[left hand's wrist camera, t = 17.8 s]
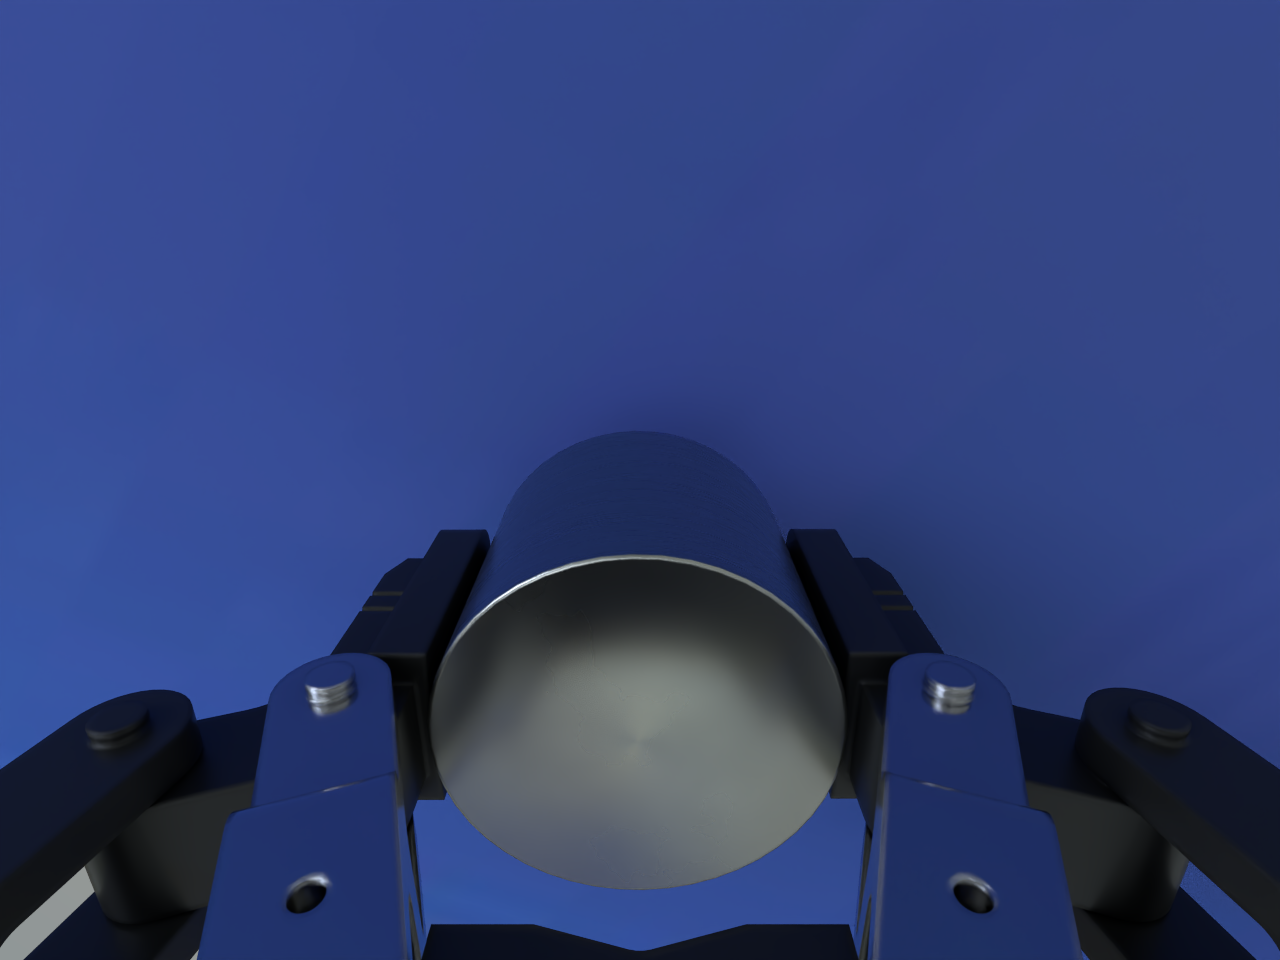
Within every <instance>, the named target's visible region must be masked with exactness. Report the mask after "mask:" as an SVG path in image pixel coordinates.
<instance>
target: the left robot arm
mask: <svg viewBox="0 0 1280 960" xmlns="http://www.w3.org/2000/svg"><path fill="white" fill-rule="evenodd" d="M786 546H787V548H788V551H789V553H790V556H791V558H792V560H793V563H794V565H795V568H796V570H797V572H798V575H799V577H800V580H801V582H802V584H803V587H804V589H805V592H806V594H807V596H808V599H809V601H810V603H811V606H812V608H813V611H814V613H815V615H816V618H817V620H818V623H819V625H820V627H821V630H822V632H823V635H824V637H825V639H826V642H827V644H828V647H829V649H830V651H831V654H832V656H833V659H834V661H835V663H836V666H837V668H838V671H839V674H840V678H841V681H842V684H843V687H844V690H845V697H846V704H847V711H848V721H847V738H846V743H845V749H844V754H843V759H842V762H841V764H840V767H839V770H838V773H837V776H836V778H835V780H834V782H833V784H832V786H831V788H830V790H829V794H830V797H831V798H857V799H858V802H859V805H860V808H861V810H862V813H863V816H864V819H865V821H866V823H865V830H864V836H863V845H862V855H861V866H860V876H859V886H858V897H857V907H856V918H855V928H854V938H853V937H852V934H851V930H850V927H849V924H746V925H742V926H738V927H735V928H731V929H727V930H723V931H719V932H716V933H712V934H708V935H704V936H701V937H697V938H693V939H689V940H686V941H682V942H678V943H674V944H670V945H667V946H663V947H659V948H655V949H652V950H646V951H634V950H628V949H625V948H621V947H617V946H613V945H610V944H606V943H602V942H598V941H594V940H591V939H587V938H583V937H579V936H576V935H572V934H568V933H564V932H561V931H557V930H553V929H549V928H545V927H542V926H538V925H534V924H431V927H430V930H429V934H428V937H427V938H426V928H425V918H424V907H423V897H422V886H421V876H420V866H419V855H418V845H417V836H416V830H415V823H414V817H413V811H414V808H415V806H416V803H417V800H444V799H445V796H446V793H447V791H446V789H445V787H444V785H443V783H442V781H441V778H440V776H439V774H438V771H437V769H436V767H435V763H434V759H433V755H432V751H431V748H430V743H429V732H428V707H429V697H430V693H431V689H432V685H433V681H434V677H435V674H436V672H437V670H438V667H439V665H440V663H441V660H442V658H443V656H444V653H445V651H446V649H447V646H448V644H449V642H450V639H451V637H452V635H453V632H454V630H455V628H456V625H457V623H458V621H459V618H460V616H461V614H462V611H463V609H464V607H465V604H466V602H467V600H468V597H469V595H470V593H471V590H472V588H473V586H474V583H475V581H476V579H477V576H478V574H479V572H480V569H481V567H482V565H483V562H484V560H485V558H486V555H487V553H488V551H489V548H490V539H489V535H488V532H487V531H486V530H441V531H440V532H439V533H438V535H437V536H436V538H435V540H434V541H433V543H432V545H431V546H430V548H429V550H428V552H427V553H426V555H425V557H424V558H408V559H406V560H405V561H403V562H402V563H401V564H399V565H398V566H396V567H395V568H393V569H392V570H390V571H389V572H387V573H386V574H385V575H384V576H383V578H382V579H381V581H380V582H379V583H378V585H377V586H376V588H375V589H374V591H373V595H372V596H370V597H369V598H368V600H367V601H366V603H365V604H364V606H363V607H362V608H363V609H362V611H360V612H359V613H358V615H357V616H356V618H355V619H354V621H353V622H352V624H351V625H350V627H349V628H348V630H347V631H346V632H345V634H344V635H343V637H342V638H341V640H340V641H339V643H338V644H337V646H336V647H335V649H334V650H333V652H332V653H331V655H330V656H326V657H322V658H319V659H316V660H313V661H311V662H308V663H306V664H304V665H302V666H300V667H298V668H296V669H295V670H293V671H292V672H290V673H289V674H287V675H286V676H285V677H284V678H282V679H281V680H280V681H279V682H278V684H277V685H276V686H275V687H274V689H273V690H272V692H271V694H270V697H269V701H268V704H267V705H264V706H260V707H257V708H253V709H249V710H245V711H240V712H235V713H230V714H226V715H221V716H216V717H211V718H206V719H201V720H196V717H195V713H194V710H193V706H192V704H191V701H190V700H189V699H188V698H187V697H186V696H185V695H183V694H181V693H179V692H175V691H171V690H148V691H140V692H135V693H131V694H127V695H123V696H120V697H117V698H114V699H111V700H108V701H106V702H103V703H101V704H99V705H97V706H94V707H92V708H91V709H89V710H87V711H85V712H83V713H81V714H80V715H78V716H77V717H75V718H74V719H72V720H71V721H69V722H68V723H66V724H65V725H63V726H62V727H61V728H59V729H58V730H56V731H55V732H53V733H52V734H50V735H49V736H48V737H46V738H45V739H43V740H42V741H40V742H39V743H38V744H36V745H35V746H33V747H32V748H30V749H29V750H28V751H26V752H25V753H23V754H22V755H20V756H19V757H18V758H16V759H15V760H13V761H12V762H10V763H9V764H8V765H6V766H5V767H3V768H2V769H0V947H1V946H2V944H3V943H4V941H5V940H6V939H7V938H8V936H9V935H10V934H11V933H12V932H13V931H14V930H15V929H16V928H17V927H18V926H19V925H20V924H21V923H22V922H23V921H25V920H26V919H27V918H28V917H29V916H30V915H31V914H32V913H33V912H34V911H36V910H37V909H38V908H39V907H40V906H41V905H42V904H43V903H44V902H45V901H47V900H48V899H49V898H50V897H51V896H52V895H53V894H54V893H55V892H56V891H58V890H59V889H60V888H61V887H62V886H63V885H64V884H65V883H66V882H67V881H69V880H70V879H71V878H72V877H73V876H74V875H75V874H76V873H77V872H78V871H80V870H81V869H82V868H83V867H84V866H85V868H86V871H87V873H88V876H89V878H90V881H91V883H92V886H93V888H94V891H95V892H94V893H93V894H92V895H91V896H90V897H89V898H87V899H86V900H85V901H84V902H83V903H82V904H81V905H80V906H79V907H78V908H77V909H76V910H75V911H74V912H73V913H72V914H71V915H70V916H69V917H68V918H67V919H66V920H65V921H63V922H62V923H61V924H60V925H59V926H58V927H57V928H56V929H55V930H54V931H53V932H52V933H51V934H50V935H49V936H48V937H47V938H46V939H45V940H44V941H43V942H41V944H40V945H38V946H37V947H36V948H35V949H34V950H33V951H32V952H31V953H30V954H29V955H28V956H27V957H26V958H25V959H24V960H190V959H191V958H192V957H193V956H194V954H195V953H196V952H197V951H198V950H199V952H198V956H197V960H1083V956H1082V952H1081V950H1082V951H1083V952H1084V953H1085V954H1086V956H1087V957H1088V958H1089V959H1090V960H1256V959H1255V958H1254V957H1253V956H1252V955H1251V954H1250V953H1249V952H1248V951H1247V950H1246V949H1245V948H1244V947H1243V946H1242V945H1241V944H1240V943H1238V942H1237V941H1236V940H1235V939H1234V938H1233V937H1232V936H1231V935H1230V934H1229V933H1228V932H1227V931H1226V930H1225V929H1224V928H1223V927H1222V926H1221V925H1220V924H1219V923H1218V922H1217V921H1216V920H1214V919H1213V918H1212V917H1211V916H1210V915H1209V914H1208V913H1207V912H1206V911H1205V910H1204V909H1203V908H1202V907H1201V906H1200V905H1199V904H1198V903H1197V902H1196V901H1195V900H1194V899H1193V898H1191V897H1190V896H1189V895H1188V894H1187V893H1186V892H1185V891H1184V890H1183V889H1182V888H1181V887H1180V884H1181V881H1182V879H1183V876H1184V874H1185V871H1186V868H1187V866H1188V863H1189V861H1190V862H1192V863H1193V864H1194V865H1195V866H1196V867H1197V868H1198V869H1199V870H1200V871H1201V872H1203V873H1204V874H1205V875H1206V876H1207V877H1208V878H1209V879H1210V880H1211V881H1212V882H1214V883H1215V884H1216V885H1217V886H1218V887H1219V888H1220V889H1221V890H1222V891H1223V892H1225V893H1226V894H1227V895H1228V896H1229V897H1230V898H1231V899H1232V900H1233V901H1234V902H1236V903H1237V904H1238V905H1239V906H1240V907H1241V908H1242V909H1243V910H1244V911H1245V912H1247V913H1248V914H1249V915H1250V916H1251V917H1252V918H1253V919H1254V920H1255V921H1256V922H1258V923H1259V924H1260V925H1261V926H1262V927H1263V928H1264V929H1265V931H1266V932H1267V933H1268V934H1269V935H1270V937H1271V938H1272V939H1273V941H1274V942H1275V944H1276V945H1277V947H1278V949H1279V950H1280V769H1278V768H1277V767H1275V766H1274V765H1272V764H1271V763H1270V762H1268V761H1267V760H1265V759H1264V758H1262V757H1261V756H1260V755H1258V754H1257V753H1255V752H1254V751H1252V750H1251V749H1250V748H1248V747H1247V746H1245V745H1244V744H1242V743H1241V742H1240V741H1238V740H1237V739H1235V738H1234V737H1232V736H1231V735H1229V734H1228V733H1227V732H1225V731H1224V730H1222V729H1221V728H1219V727H1218V726H1217V725H1215V724H1214V723H1212V722H1211V721H1209V720H1208V719H1207V718H1205V717H1204V716H1202V715H1200V714H1199V713H1197V712H1196V711H1194V710H1192V709H1190V708H1188V707H1187V706H1185V705H1183V704H1181V703H1178V702H1176V701H1174V700H1171V699H1169V698H1166V697H1163V696H1160V695H1157V694H1154V693H1150V692H1147V691H1142V690H1137V689H1129V688H1107V689H1102V690H1098V691H1096V692H1094V693H1092V694H1091V695H1090V696H1089V697H1088V698H1087V700H1086V702H1085V705H1084V709H1083V712H1082V716H1081V719H1080V720H1079V719H1074V718H1069V717H1064V716H1059V715H1054V714H1050V713H1045V712H1040V711H1035V710H1030V709H1026V708H1022V707H1018V706H1014V705H1012V701H1011V697H1010V694H1009V692H1008V690H1007V689H1006V687H1005V686H1004V685H1003V684H1002V682H1001V681H1000V680H999V679H998V678H996V677H995V676H994V675H993V674H991V673H990V672H988V671H987V670H985V669H984V668H982V667H980V666H978V665H976V664H974V663H972V662H969V661H967V660H964V659H961V658H958V657H954V656H950V655H945V654H944V653H943V651H942V650H941V648H940V646H939V645H938V643H937V642H936V640H935V639H934V637H933V636H932V634H931V633H930V631H929V630H928V628H927V627H926V625H925V624H924V622H923V621H922V619H921V618H920V616H919V615H918V613H917V612H916V610H913V606H912V604H911V603H910V601H909V600H908V598H907V597H906V595H903V591H902V589H901V588H900V586H899V585H898V583H897V582H896V580H895V579H894V577H893V576H892V574H891V573H890V572H888V571H887V570H885V569H884V568H882V567H881V566H879V565H878V564H876V563H875V562H873V561H872V560H871V559H869V558H852V556H851V555H850V553H849V551H848V549H847V548H846V546H845V544H844V543H843V541H842V539H841V537H840V536H839V534H838V532H837V531H836V530H835V529H791V530H790V531H789V533H788V536H787V541H786Z"/></svg>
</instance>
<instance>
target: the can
mask: <svg viewBox="0 0 1280 960" xmlns="http://www.w3.org/2000/svg"><path fill="white" fill-rule="evenodd" d="M847 721H848V711H847V704H846V697H845V690H844V687H843V684H842V681H841V678H840V674H839V671H838V668H837V666H836V663H835V661H834V659H833V656H832V654H831V651H830V649H829V647H828V644H827V642H826V639H825V637H824V635H823V632H822V630H821V627H820V625H819V623H818V620H817V618H816V615H815V613H814V611H813V608H812V606H811V603H810V601H809V599H808V596H807V594H806V592H805V589H804V587H803V584H802V582H801V580H800V577H799V575H798V572H797V570H796V568H795V565H794V563H793V560H792V558H791V556H790V553H789V551H788V548H787V546H786V544H785V541H784V539H783V536H782V534H781V532H780V529H779V527H778V525H777V522H776V520H775V517H774V515H773V513H772V511H771V509H770V507H769V505H768V503H767V501H766V499H765V498H764V496H763V495H762V493H761V492H760V490H759V489H758V488H757V486H756V485H755V483H754V482H753V481H752V480H751V479H750V478H749V477H748V476H747V475H746V474H745V473H744V472H743V471H742V470H741V469H740V468H739V467H737V466H736V465H735V464H734V463H732V462H731V461H730V460H729V459H727V458H726V457H724V456H722V455H721V454H719V453H718V452H716V451H714V450H713V449H711V448H709V447H706V446H704V445H702V444H699V443H697V442H695V441H692V440H689V439H686V438H682V437H679V436H675V435H670V434H664V433H658V432H643V431H630V432H619V433H612V434H607V435H602V436H598V437H594V438H591V439H588V440H585V441H582V442H580V443H577V444H574V445H572V446H571V447H569V448H567V449H565V450H563V451H561V452H559V453H557V454H556V455H554V456H553V457H551V458H550V459H548V460H547V461H546V462H544V463H543V464H542V465H540V466H539V467H538V468H537V469H536V470H535V471H534V472H533V473H532V474H531V475H529V476H528V478H527V479H526V480H525V481H524V482H523V484H522V485H521V486H520V487H519V489H518V490H517V491H516V493H515V494H514V496H513V498H512V499H511V501H510V503H509V504H508V506H507V509H506V511H505V513H504V516H503V518H502V520H501V523H500V525H499V527H498V530H497V532H496V534H495V537H494V539H493V541H492V544H491V546H490V548H489V551H488V553H487V555H486V558H485V560H484V562H483V565H482V567H481V569H480V572H479V574H478V576H477V579H476V581H475V583H474V586H473V588H472V590H471V593H470V595H469V597H468V600H467V602H466V604H465V607H464V609H463V611H462V614H461V616H460V618H459V621H458V623H457V625H456V628H455V630H454V632H453V635H452V637H451V639H450V642H449V644H448V646H447V649H446V651H445V653H444V656H443V658H442V660H441V663H440V665H439V667H438V670H437V672H436V674H435V677H434V681H433V685H432V689H431V693H430V697H429V707H428V732H429V743H430V748H431V751H432V755H433V759H434V763H435V767H436V769H437V771H438V774H439V776H440V778H441V781H442V783H443V785H444V787H445V789H446V791H447V792H448V794H449V796H450V797H451V799H452V800H453V802H454V804H455V805H456V807H457V808H458V809H459V810H460V811H461V813H462V814H463V815H464V816H465V817H466V819H467V820H468V821H469V822H470V823H471V824H472V825H473V826H474V827H475V828H476V829H477V830H478V831H479V832H480V833H481V834H482V835H483V836H484V837H486V838H487V839H488V840H489V841H491V842H492V843H493V844H495V845H496V846H498V847H499V848H500V849H502V850H503V851H504V852H506V853H508V854H509V855H511V856H513V857H515V858H516V859H518V860H520V861H522V862H523V863H525V864H527V865H529V866H532V867H534V868H536V869H538V870H541V871H543V872H545V873H548V874H551V875H554V876H557V877H560V878H563V879H566V880H569V881H573V882H578V883H582V884H587V885H591V886H597V887H605V888H614V889H633V890H647V889H662V888H672V887H678V886H684V885H690V884H695V883H698V882H702V881H706V880H710V879H714V878H717V877H719V876H722V875H725V874H728V873H730V872H733V871H736V870H738V869H740V868H742V867H744V866H746V865H748V864H750V863H752V862H754V861H756V860H758V859H760V858H762V857H763V856H765V855H766V854H768V853H769V852H771V851H773V850H774V849H776V848H777V847H779V846H780V845H781V844H782V843H784V842H785V841H786V840H787V839H789V838H790V837H791V836H792V835H794V834H795V833H796V832H797V831H798V830H799V829H800V828H801V827H802V826H803V825H804V824H805V823H806V822H807V821H808V820H809V818H810V817H811V816H812V815H813V814H814V812H815V811H816V810H817V808H818V807H819V806H820V804H821V803H822V802H823V800H824V799H825V797H826V795H827V793H828V792H829V790H830V788H831V786H832V784H833V782H834V780H835V778H836V776H837V773H838V770H839V767H840V764H841V762H842V759H843V754H844V749H845V743H846V738H847Z"/></svg>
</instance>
